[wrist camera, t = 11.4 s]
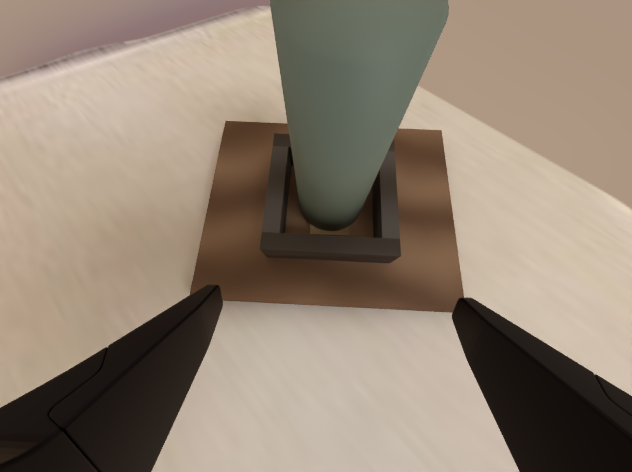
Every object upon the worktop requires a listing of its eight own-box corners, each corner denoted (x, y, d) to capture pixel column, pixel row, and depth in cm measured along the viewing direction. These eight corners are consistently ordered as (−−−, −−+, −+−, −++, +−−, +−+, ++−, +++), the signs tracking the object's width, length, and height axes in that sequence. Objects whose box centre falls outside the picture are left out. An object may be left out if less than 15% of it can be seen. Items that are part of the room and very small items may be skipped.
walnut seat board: (454, 312, 18) (490, 312, 15) (198, 298, 19) (168, 295, 15) (433, 141, 23) (456, 108, 19) (231, 132, 24) (214, 98, 20)
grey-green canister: (372, 217, 19) (484, 32, 6) (313, 240, 18) (309, 86, 6) (346, 166, 20) (395, -67, 8) (290, 186, 19) (247, -32, 7)
